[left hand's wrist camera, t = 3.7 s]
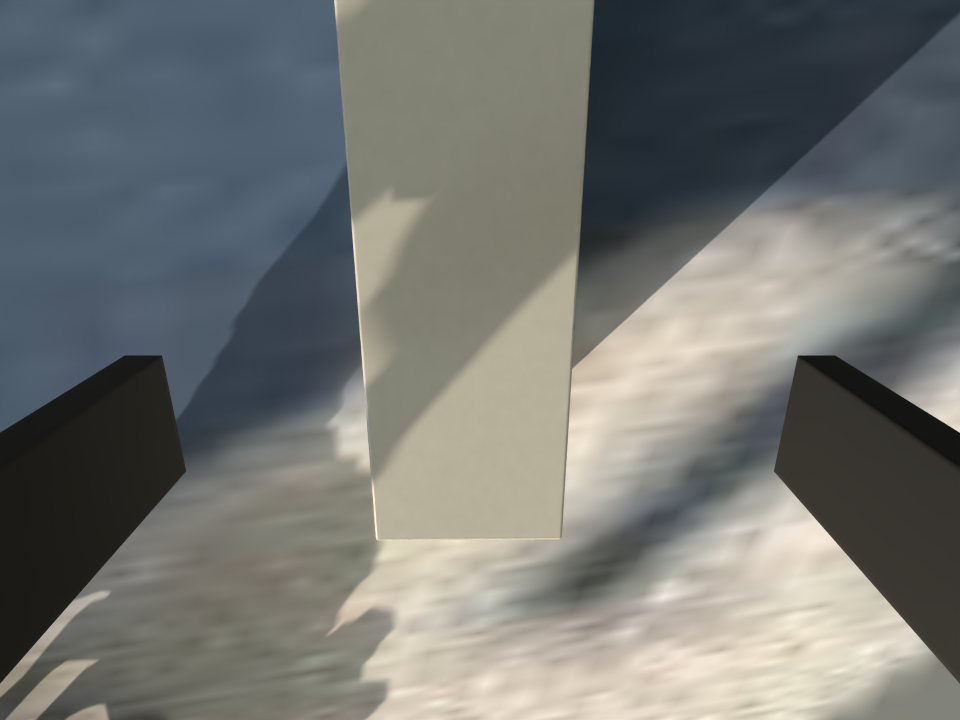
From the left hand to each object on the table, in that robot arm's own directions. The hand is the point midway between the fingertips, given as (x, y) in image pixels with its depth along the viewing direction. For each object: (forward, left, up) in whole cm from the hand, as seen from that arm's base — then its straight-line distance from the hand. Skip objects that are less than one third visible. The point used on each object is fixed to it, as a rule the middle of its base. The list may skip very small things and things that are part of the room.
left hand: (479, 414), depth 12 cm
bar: (+2, +26, -10) cm, 28 cm away
